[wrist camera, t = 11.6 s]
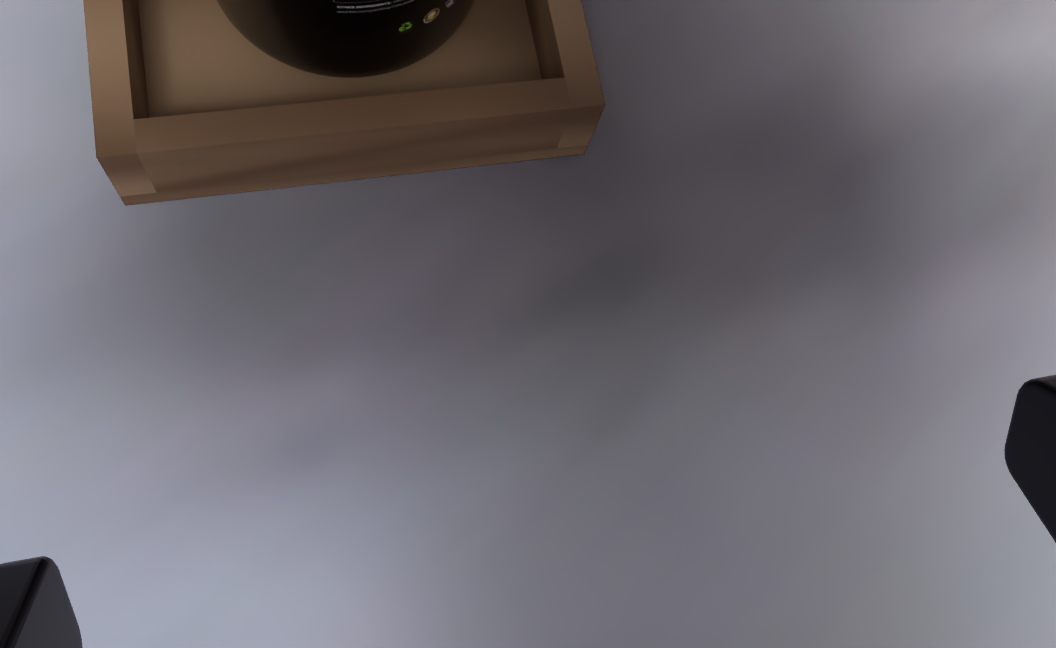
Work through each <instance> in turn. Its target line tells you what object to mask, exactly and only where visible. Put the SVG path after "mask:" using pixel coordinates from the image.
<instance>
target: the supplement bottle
mask: <svg viewBox="0 0 1056 648" xmlns="http://www.w3.org/2000/svg"><path fill="white" fill-rule="evenodd" d="M473 1H474V0H217V2H218V4H219V6H220V8H221V9H222V11H223V12H224V14H225V15H226V17H227V18H228V19H229V21H230V22H231V23H232V24H233V26H234V27H235V28H236V29H237V30H238V31H239V32H240V33H241V34H242V35H243V36H244V37H245V38H246V39H247V40H248V41H249V42H251V43H252V44H253V45H254V46H255V47H257V48H258V49H260V50H261V51H263V52H264V53H266V54H267V55H269V56H271V57H272V58H274V59H276V60H278V61H280V62H282V63H284V64H286V65H289V66H291V67H294V68H296V69H299V70H302V71H305V72H309V73H313V74H317V75H322V76H329V77H338V78H362V77H372V76H377V75H383V74H387V73H390V72H394V71H397V70H400V69H403V68H405V67H408V66H410V65H412V64H414V63H416V62H418V61H420V60H422V59H424V58H425V57H427V56H428V55H430V54H432V53H433V52H434V51H436V50H437V49H438V48H439V47H441V46H442V45H443V44H444V43H445V42H446V41H447V40H448V39H449V38H450V37H451V36H452V35H453V34H454V32H455V31H456V30H457V29H458V28H459V26H460V25H461V23H462V22H463V20H464V19H465V17H466V16H467V14H468V12H469V10H470V8H471V6H472V3H473Z"/></svg>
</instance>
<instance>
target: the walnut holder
mask: <svg viewBox="0 0 1056 648" xmlns="http://www.w3.org/2000/svg"><path fill="white" fill-rule="evenodd" d="M84 12H85V24H86V36H87V48H88V61H89V73H90V85H91V97H92V109H93V121H94V134H95V146H96V158H97V159H98V161H99V162H100V164H101V166H102V167H103V169H104V171H105V172H106V174H107V176H108V177H109V179H110V181H111V182H112V184H113V186H114V187H115V189H116V191H117V192H118V194H119V196H120V197H121V199H122V201H123V202H124V204H125V205H134V204H143V203H152V202H161V201H170V200H178V199H187V198H196V197H205V196H214V195H223V194H232V193H241V192H249V191H258V190H267V189H276V188H285V187H294V186H303V185H312V184H321V183H329V182H338V181H347V180H356V179H365V178H374V177H383V176H392V175H400V174H409V173H418V172H427V171H436V170H445V169H454V168H463V167H472V166H480V165H489V164H498V163H507V162H516V161H525V160H534V159H543V158H551V157H560V156H569V155H578V154H584V153H585V150H586V148H587V146H588V143H589V141H590V139H591V137H592V134H593V132H594V130H595V127H596V125H597V123H598V120H599V118H600V116H601V113H602V111H603V109H604V107H605V102H604V97H603V93H602V89H601V85H600V80H599V76H598V72H597V67H596V63H595V59H594V55H593V50H592V46H591V42H590V37H589V33H588V29H587V25H586V20H585V16H584V12H583V7H582V3H581V0H474V1H473V3H472V6H471V8H470V10H469V12H468V14H467V16H466V17H465V19H464V20H463V22H462V23H461V25H460V26H459V28H458V29H457V30H456V31H455V32H454V34H453V35H452V36H451V37H450V38H449V39H448V40H447V41H446V42H445V43H444V44H443V45H442V46H441V47H439V48H438V49H437V50H436V51H434V52H433V53H432V54H430V55H428V56H427V57H425V58H424V59H422V60H420V61H418V62H416V63H414V64H412V65H410V66H408V67H405V68H403V69H400V70H397V71H394V72H390V73H387V74H383V75H377V76H372V77H362V78H338V77H329V76H322V75H317V74H313V73H309V72H305V71H302V70H299V69H296V68H294V67H291V66H289V65H286V64H284V63H282V62H280V61H278V60H276V59H274V58H272V57H271V56H269V55H267V54H266V53H264V52H263V51H261V50H260V49H258V48H257V47H255V46H254V45H253V44H252V43H251V42H249V41H248V40H247V39H246V38H245V37H244V36H243V35H242V34H241V33H240V32H239V31H238V30H237V29H236V28H235V27H234V26H233V24H232V23H231V22H230V21H229V19H228V18H227V17H226V15H225V14H224V12H223V11H222V9H221V8H220V6H219V4H218V2H217V0H84Z"/></svg>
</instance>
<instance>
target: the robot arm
mask: <svg viewBox="0 0 1056 648" xmlns="http://www.w3.org/2000/svg"><path fill="white" fill-rule="evenodd" d="M1005 460H1006V464H1007V467H1008V469H1009V472H1010V473H1011V475H1012V477H1013V478H1014V480H1015V481H1016V483H1017V484H1018V486H1019V487H1020V489H1021V491H1022V492H1023V494H1024V495H1025V497H1026V498H1027V500H1028V501H1029V503H1030V504H1031V506H1032V507H1033V509H1034V510H1035V512H1036V513H1037V515H1038V516H1039V518H1040V519H1041V521H1042V522H1043V524H1044V525H1045V527H1046V528H1047V530H1048V532H1049V533H1050V535H1051V536H1052V538H1053V539H1054V541H1055V542H1056V375H1052V376H1047V377H1041V378H1036V379H1031V380H1029V381H1027V382H1025V383H1024V384H1023V385H1022V387H1021V388H1020V389H1019V391H1018V394H1017V398H1016V402H1015V406H1014V410H1013V414H1012V418H1011V423H1010V427H1009V431H1008V435H1007V439H1006V444H1005ZM0 648H82V639H81V633H80V629H79V626H78V623H77V620H76V617H75V614H74V611H73V608H72V606H71V603H70V600H69V597H68V594H67V591H66V588H65V586H64V583H63V580H62V577H61V574H60V571H59V569H58V567H57V565H56V564H55V562H54V561H53V560H52V559H50V558H48V557H45V556H41V557H36V558H30V559H25V560H19V561H13V562H8V563H3V564H0Z"/></svg>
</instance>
